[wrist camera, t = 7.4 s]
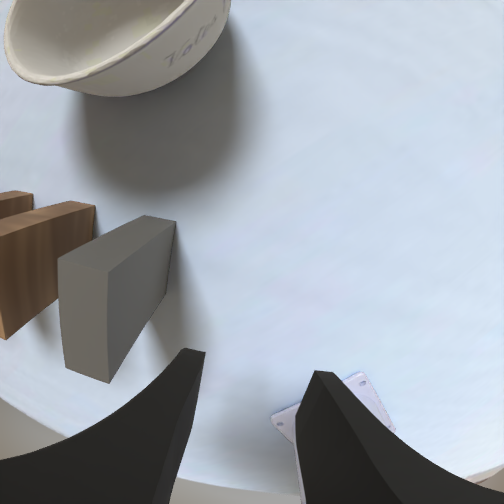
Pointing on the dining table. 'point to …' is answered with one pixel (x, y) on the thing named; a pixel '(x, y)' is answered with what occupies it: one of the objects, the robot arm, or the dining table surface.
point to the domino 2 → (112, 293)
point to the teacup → (110, 42)
